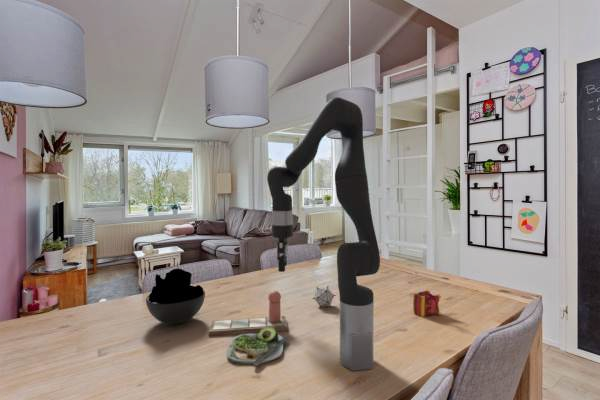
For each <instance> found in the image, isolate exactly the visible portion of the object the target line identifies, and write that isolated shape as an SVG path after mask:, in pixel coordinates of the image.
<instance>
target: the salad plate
mask: <svg viewBox="0 0 600 400" xmlns="http://www.w3.org/2000/svg"><path fill="white" fill-rule="evenodd" d="M288 340H289V337H288V336H286V335H285V336H282V335H280V334H278V332H277V331H276V330H275V329H274V328H272V327H266V328H263V329H261V330H259V333H248V334H237V335H235V336H234V337H233V338H232V339H231V340H230V342H229V345H228V348H227V350H226V357H227V358H228V359H229V360H230V361H232V362H235V363H237V364H241V365H253V366H255V367H256V366H257V367H258V366H260V365H261V364H264V363H267V362H270V361H273V360H275V359H278V358H280V357H281V355H282V354H283V351H284V345H285V343H286V342H287V341H288ZM236 350H237V351H240V352H244V353H246V354H247V357H245V358H241V357H240V358H239V356H238V355H236Z"/></svg>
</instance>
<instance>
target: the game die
mask: <svg viewBox="0 0 600 400" xmlns="http://www.w3.org/2000/svg"><path fill="white" fill-rule="evenodd" d="M316 289H317V290H316V292H315V295H314V297H312V298H311V299H312V300H315V302H316V303H317V304H318V305H319V307H318V308H319V309H321V307H331V308H332V305H331V304H332V302H333V299H334V297H336V295H337V294H334V293H332V291H331V290H330V289H329V285H327V287H320V288H319V287H318V286H316Z"/></svg>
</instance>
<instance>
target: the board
mask: <svg viewBox="0 0 600 400" xmlns="http://www.w3.org/2000/svg"><path fill="white" fill-rule="evenodd" d="M287 323H288V322H287V319H286V316H283V315H282V316H281V322H280V323H277V324H272V323H270V322H269V316H268V317H267V316H266V317H265V316H264V317H252V318H237V319H236V318H235V319H234V318H233V319H219V320H217V319H216V320H211V323H210V326H209V329H208V336H209V337H217V336H230V335H241V334H257V333H259V330H261V329H263V328H266V327H272V328H274V329H275V330H276V331H277V333H278V332H289V331H288V329H289V327H288V324H287Z"/></svg>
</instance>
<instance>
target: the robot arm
mask: <svg viewBox="0 0 600 400" xmlns="http://www.w3.org/2000/svg"><path fill="white" fill-rule="evenodd" d="M363 126H364V122H363V114H362V110H361V108H360V107H359V105H357V104H356V103H355V102H352V101H349V100H347V99H345V98H342V97H335V96H334V97H333V98H330V99H329V100H328V101H327V102H326V103H325V104H324V106H322V109H321V110H320V112H319V113H318V114H317V116H316V118H315V119H314V121H313V122H312V124H311V125H310V127H309V129H308V130H307V132H306V134H305V135H304V137H303V138H302V139H301V141H300V142H299V143H298V144H297V145H296V147H294V149H292V151H291V152H290V153H289V154H288V155H287V157H286V158H285V161H284V164H285V167H284V166H273V167H271V168H270V169H269V171H268V173H267V177H266V179H267V186H268V188H269V192H270V196H271V200H272V205H271V206H272V208H271V210H272V213H271V236H272V237H273V238H277V239H278V240H277V241H276V255H277V258H276V260H277V263H278V272H280V273H281V272H283V273H284V272H285V271H286V267H287V265H288V259H287V255H288V251H289V241H288V238H292V237H294V216H293V215H294V214H293V198H292V197H293V196H291V194H289V193H285V190H284V188H289V187H291V186H294V185H296V183H297V182H298V180H299V178H300V177H301V175H302V173H303V171H304V170H305V169H306V168H307V167H308V166H309V165H310V164H311V163H312V162H313V160H314V159H315V158H316V156H317V154H318V150H319V146H320V143H321V141H322V139H323V138H324V137H325V136H326V135H327V134H328V133H329V132H331V131H337V132H339V133H340V137H341V146H342V150H341V155H340V157H339V160H338V163H337V164H336V165H337V166H336V168H335V171H334V184H335V185H334V186H335V193H336V199H337V200H338V203H339V204H340V206H341V207H342V210H344V212H346V214H347V215H348V217H349V218H350V219H351V221H352V223H353V225H354V227H355V229H356V233H357V237H358V241H356V242H355V241H354V242H346V243H345V242H344V243H341V244H340V245H339V247H338V248H337V252H336V266H337V267H336V269H337V286H338V293H339V362H340V364H341V365H342V366H344V367H345V368H347V369H349V371H351V372H352V371H353V372H354V371H365V370H373V368H374V367H373V366H374V297H375V296H374V291H373V290H372V289H371V288H370V287H367V286H365V285H361V284H358V282H357V281H358V280H357V277H364V276H373V275H375V274H377V273H378V272H379V269H380V267H381V265H380V264H381V255H380V250H379V245H378V239H377V234H376V230H375V226H374V221H373V215H372V209H371V201H370V191H369V183H368V173H367V168H366V159H365V150H364V149H365V148H364V130H363V129H364V128H363Z"/></svg>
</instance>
